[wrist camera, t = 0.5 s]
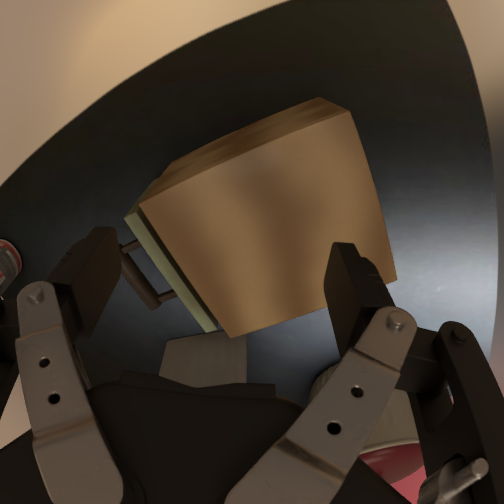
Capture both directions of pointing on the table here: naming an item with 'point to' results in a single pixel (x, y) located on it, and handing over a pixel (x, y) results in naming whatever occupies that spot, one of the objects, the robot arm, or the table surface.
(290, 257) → the cabinet
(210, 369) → the planter
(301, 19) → the table surface
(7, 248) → the pill bottle
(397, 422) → the canister
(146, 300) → the drawer
